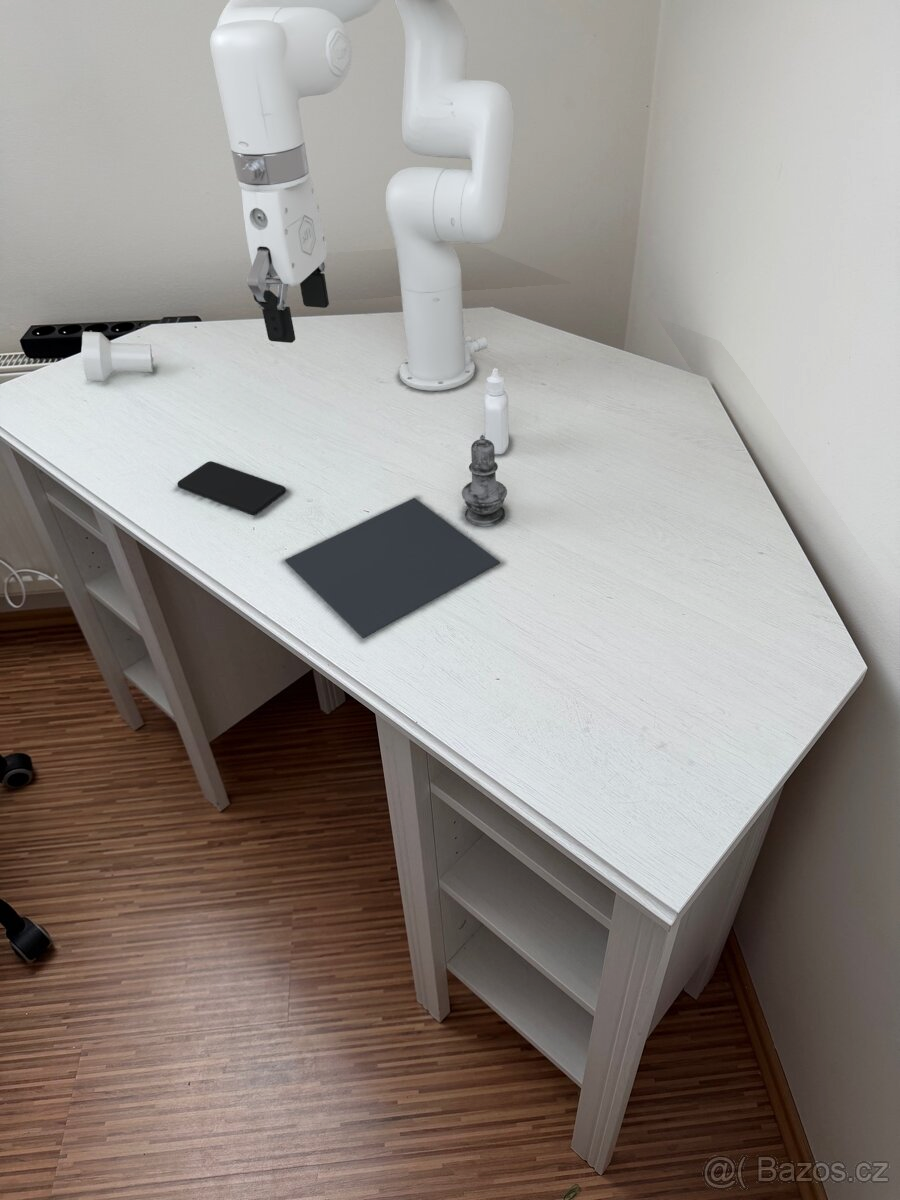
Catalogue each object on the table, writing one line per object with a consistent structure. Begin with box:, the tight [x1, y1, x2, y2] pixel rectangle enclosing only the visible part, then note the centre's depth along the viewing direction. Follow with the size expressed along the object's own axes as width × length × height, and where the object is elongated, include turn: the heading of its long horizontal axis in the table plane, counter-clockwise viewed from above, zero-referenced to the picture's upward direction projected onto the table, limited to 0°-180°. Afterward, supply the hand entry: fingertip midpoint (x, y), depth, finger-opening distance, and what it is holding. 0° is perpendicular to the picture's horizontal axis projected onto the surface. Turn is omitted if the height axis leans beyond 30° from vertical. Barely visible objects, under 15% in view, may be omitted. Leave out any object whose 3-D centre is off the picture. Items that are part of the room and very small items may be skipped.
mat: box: [284, 497, 501, 639], centre depth 103 cm, size 20×18×1 cm
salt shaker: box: [461, 434, 508, 528], centre depth 105 cm, size 6×6×12 cm
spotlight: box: [80, 331, 154, 382], centre depth 143 cm, size 8×11×8 cm
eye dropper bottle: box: [483, 367, 510, 455], centre depth 118 cm, size 4×6×12 cm
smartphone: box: [177, 460, 287, 516], centre depth 117 cm, size 7×1×15 cm
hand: (300, 322), depth 98 cm, fingers open, 9 cm apart
